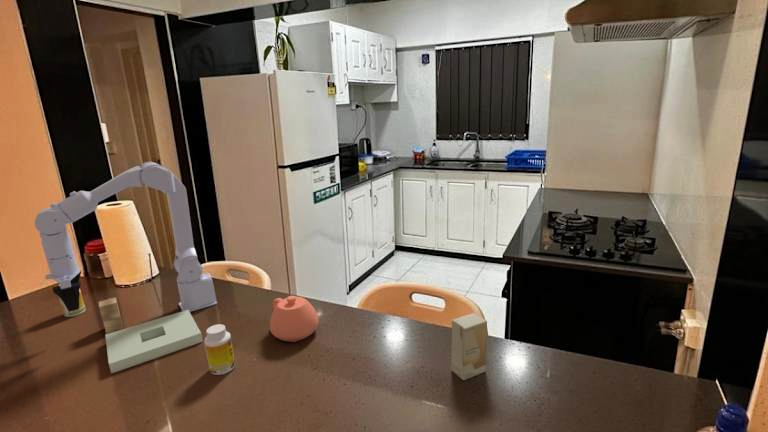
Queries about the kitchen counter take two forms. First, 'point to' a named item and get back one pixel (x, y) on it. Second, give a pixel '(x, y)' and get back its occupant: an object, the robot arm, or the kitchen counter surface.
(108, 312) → the oak peg
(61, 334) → the kitchen counter surface
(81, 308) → the supplement bottle
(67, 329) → the kitchen counter surface
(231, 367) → the supplement bottle
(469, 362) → the skincare box
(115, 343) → the socket board
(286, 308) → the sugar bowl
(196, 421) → the kitchen counter surface
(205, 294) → the robot arm
